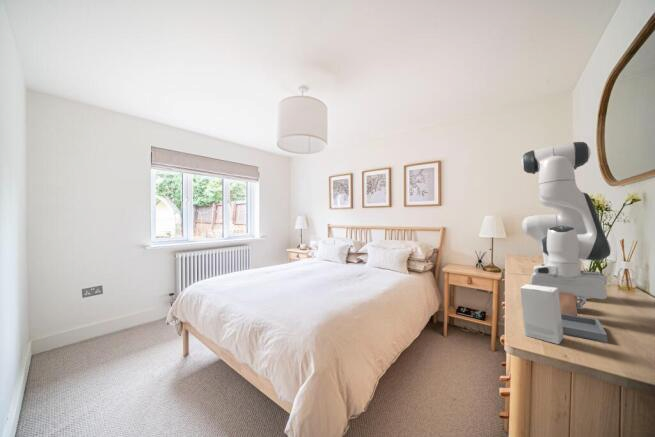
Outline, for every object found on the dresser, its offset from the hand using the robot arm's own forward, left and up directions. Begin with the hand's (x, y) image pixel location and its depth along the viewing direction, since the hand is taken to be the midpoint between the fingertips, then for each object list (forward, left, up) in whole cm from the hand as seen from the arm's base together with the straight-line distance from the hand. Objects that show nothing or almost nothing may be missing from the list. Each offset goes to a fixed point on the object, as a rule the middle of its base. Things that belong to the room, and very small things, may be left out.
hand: (566, 306), depth 88 cm
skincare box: (+26, -7, -4) cm, 27 cm away
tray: (+13, 0, -4) cm, 14 cm away
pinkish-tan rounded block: (0, 0, -4) cm, 4 cm away
